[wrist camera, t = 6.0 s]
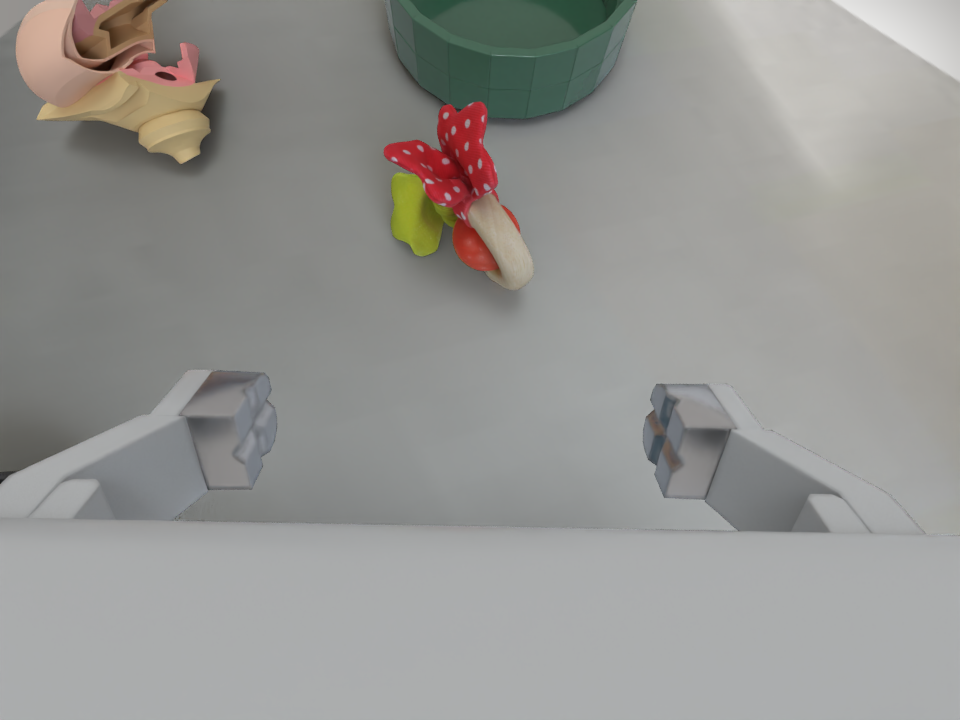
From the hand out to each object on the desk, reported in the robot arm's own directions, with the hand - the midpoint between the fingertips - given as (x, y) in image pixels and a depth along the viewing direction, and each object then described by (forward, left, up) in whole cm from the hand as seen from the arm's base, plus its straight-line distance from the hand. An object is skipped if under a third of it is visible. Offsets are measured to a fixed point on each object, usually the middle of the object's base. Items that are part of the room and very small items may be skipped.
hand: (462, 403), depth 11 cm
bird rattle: (+12, 0, -18) cm, 22 cm away
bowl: (+28, -2, -18) cm, 33 cm away
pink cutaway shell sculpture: (+20, +20, -18) cm, 34 cm away
